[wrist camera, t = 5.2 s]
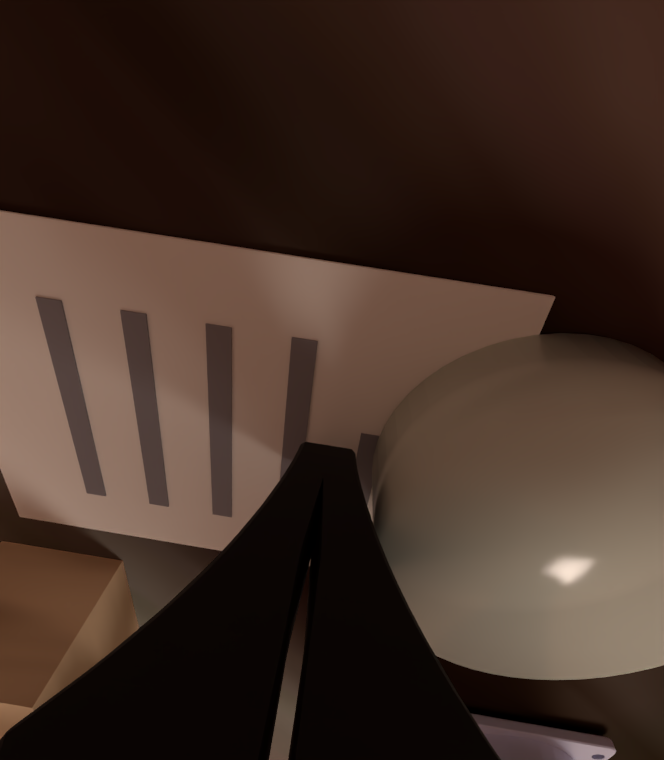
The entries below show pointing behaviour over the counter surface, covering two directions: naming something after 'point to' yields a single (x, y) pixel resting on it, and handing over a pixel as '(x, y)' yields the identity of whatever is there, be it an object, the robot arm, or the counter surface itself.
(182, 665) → the robot arm
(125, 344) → the letter
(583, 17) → the counter surface
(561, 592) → the puck
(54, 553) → the maple block
